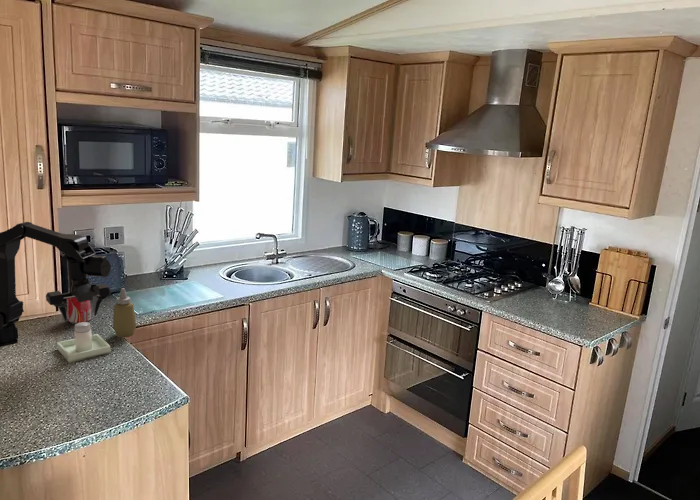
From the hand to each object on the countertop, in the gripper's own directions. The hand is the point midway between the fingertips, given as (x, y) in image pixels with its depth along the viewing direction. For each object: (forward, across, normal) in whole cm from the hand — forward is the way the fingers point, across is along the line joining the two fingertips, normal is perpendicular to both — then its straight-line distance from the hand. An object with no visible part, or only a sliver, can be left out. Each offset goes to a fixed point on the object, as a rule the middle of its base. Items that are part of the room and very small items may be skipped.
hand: (80, 318), depth 182 cm
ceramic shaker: (+11, 0, -1) cm, 11 cm away
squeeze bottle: (+12, +16, +5) cm, 21 cm away
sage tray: (+12, 0, -1) cm, 12 cm away
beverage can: (+12, +7, +28) cm, 32 cm away
